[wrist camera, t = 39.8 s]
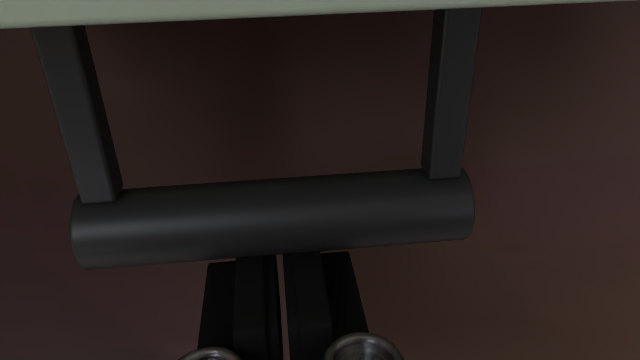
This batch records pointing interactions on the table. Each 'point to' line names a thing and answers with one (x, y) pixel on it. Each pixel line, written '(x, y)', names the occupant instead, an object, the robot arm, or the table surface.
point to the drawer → (267, 194)
